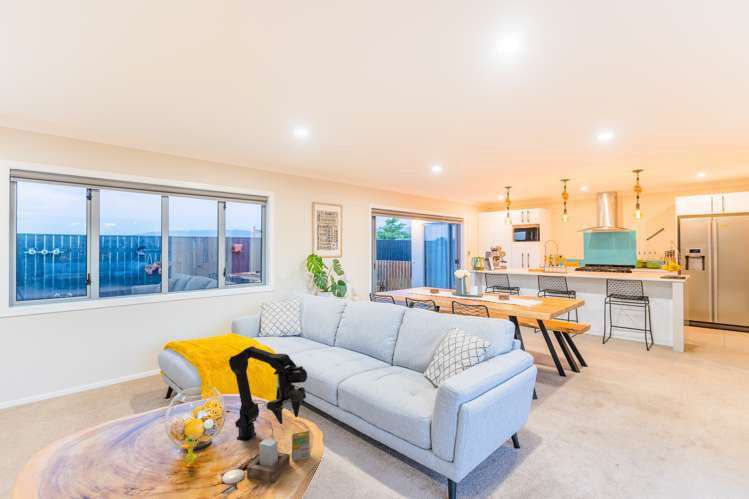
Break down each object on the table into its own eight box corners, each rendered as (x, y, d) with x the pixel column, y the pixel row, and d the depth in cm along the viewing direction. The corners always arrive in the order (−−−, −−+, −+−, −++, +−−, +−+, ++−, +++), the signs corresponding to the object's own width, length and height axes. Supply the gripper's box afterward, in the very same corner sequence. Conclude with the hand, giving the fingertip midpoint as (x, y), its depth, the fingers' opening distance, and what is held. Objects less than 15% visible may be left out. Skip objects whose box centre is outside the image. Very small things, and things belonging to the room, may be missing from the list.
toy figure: (178, 469, 148) (177, 440, 148) (182, 463, 152) (182, 435, 152) (195, 468, 149) (194, 439, 148) (199, 463, 152) (198, 435, 152)
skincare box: (278, 469, 148) (278, 440, 147) (272, 476, 144) (271, 446, 143) (265, 466, 150) (265, 438, 149) (259, 473, 146) (258, 443, 145)
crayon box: (308, 453, 158) (308, 427, 158) (310, 457, 156) (309, 430, 155) (291, 457, 156) (291, 430, 156) (292, 461, 153) (292, 434, 153)
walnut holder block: (247, 478, 142) (246, 466, 142) (264, 460, 154) (264, 449, 154) (273, 483, 139) (273, 472, 139) (289, 464, 151) (289, 454, 150)
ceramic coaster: (217, 481, 140) (217, 480, 140) (231, 469, 148) (231, 467, 148) (235, 485, 138) (235, 484, 138) (248, 472, 146) (248, 471, 146)
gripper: (282, 388, 151) (286, 428, 148) (312, 378, 167) (316, 414, 164) (264, 389, 157) (267, 427, 154) (295, 379, 172) (298, 414, 170)
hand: (288, 420), depth 160 cm, fingers open, 9 cm apart
